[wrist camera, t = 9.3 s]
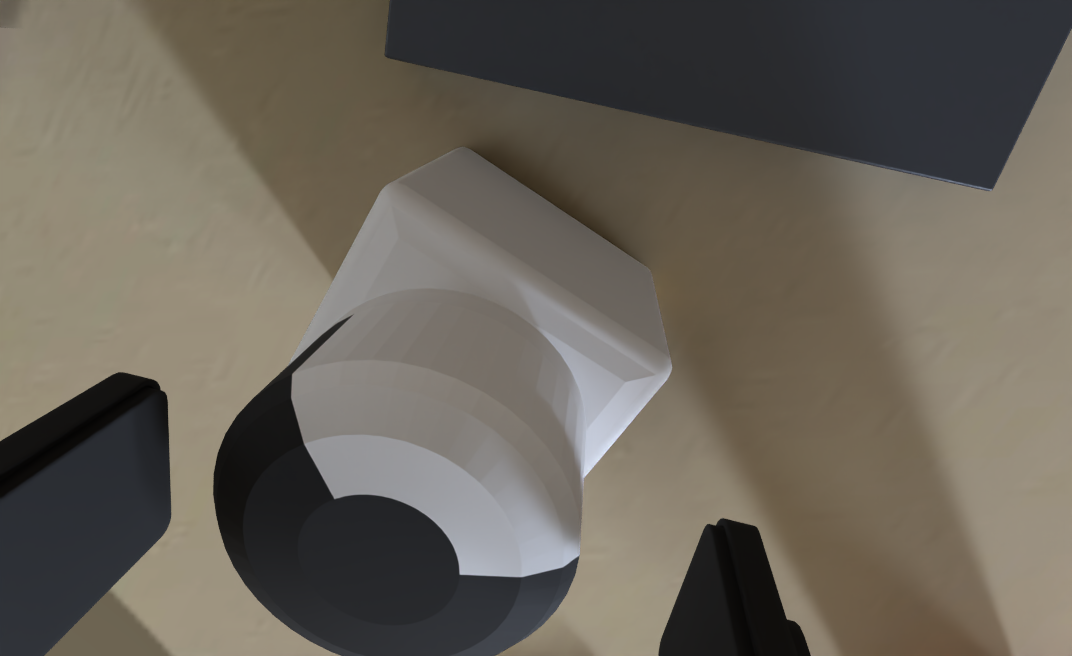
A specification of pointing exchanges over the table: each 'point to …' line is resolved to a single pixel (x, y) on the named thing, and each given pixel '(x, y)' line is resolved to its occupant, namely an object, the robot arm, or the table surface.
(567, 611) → the table surface
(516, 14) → the scale
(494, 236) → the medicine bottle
